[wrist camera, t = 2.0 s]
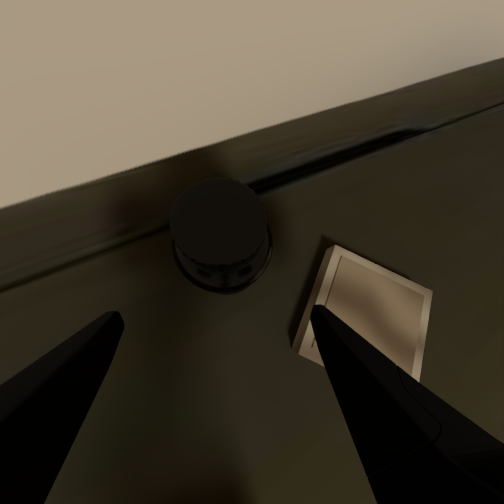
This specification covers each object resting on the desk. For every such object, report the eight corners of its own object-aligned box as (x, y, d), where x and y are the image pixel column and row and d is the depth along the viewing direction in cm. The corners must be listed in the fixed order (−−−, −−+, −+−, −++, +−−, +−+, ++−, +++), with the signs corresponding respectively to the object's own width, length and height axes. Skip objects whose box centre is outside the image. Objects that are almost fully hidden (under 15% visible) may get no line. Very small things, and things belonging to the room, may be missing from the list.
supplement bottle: (221, 224, 21) (211, 136, 10) (268, 258, 21) (315, 207, 9) (182, 270, 19) (111, 229, 8) (233, 308, 19) (236, 323, 7)
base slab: (395, 399, 18) (416, 411, 16) (291, 348, 19) (298, 354, 16) (414, 292, 22) (433, 291, 20) (326, 249, 22) (336, 244, 20)
